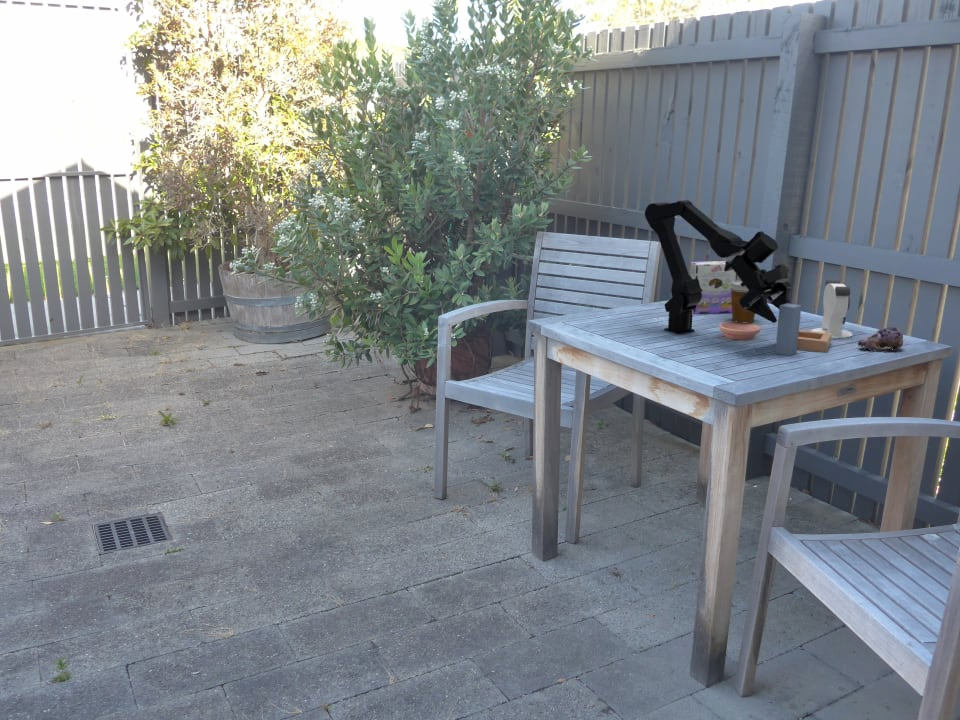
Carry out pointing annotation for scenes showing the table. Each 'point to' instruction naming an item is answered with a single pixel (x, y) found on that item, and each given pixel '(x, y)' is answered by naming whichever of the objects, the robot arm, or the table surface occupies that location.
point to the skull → (883, 339)
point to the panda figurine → (835, 309)
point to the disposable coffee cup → (737, 310)
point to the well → (814, 341)
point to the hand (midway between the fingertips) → (784, 319)
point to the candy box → (713, 286)
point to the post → (788, 329)
